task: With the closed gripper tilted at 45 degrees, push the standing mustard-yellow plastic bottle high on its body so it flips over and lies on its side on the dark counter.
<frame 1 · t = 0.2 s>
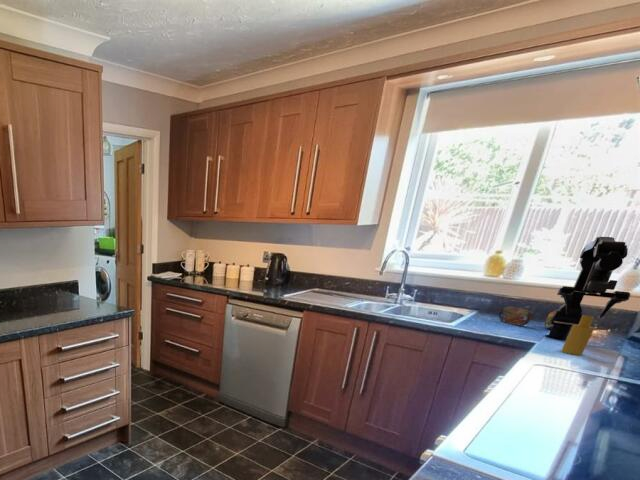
hand: (583, 316, 163), 15 cm above the countertop, tool pointing down, fingers open, 9 cm apart
tin: (512, 324, 220), on the countertop
burger: (560, 330, 210), on the countertop
bottle: (571, 352, 171), on the countertop
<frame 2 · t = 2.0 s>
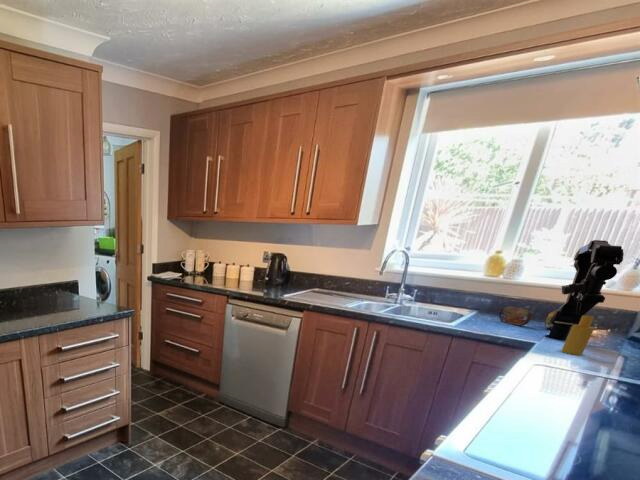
hand: (578, 316, 175), 13 cm above the countertop, tool pointing down, fingers open, 3 cm apart
nothing on the countertop moved.
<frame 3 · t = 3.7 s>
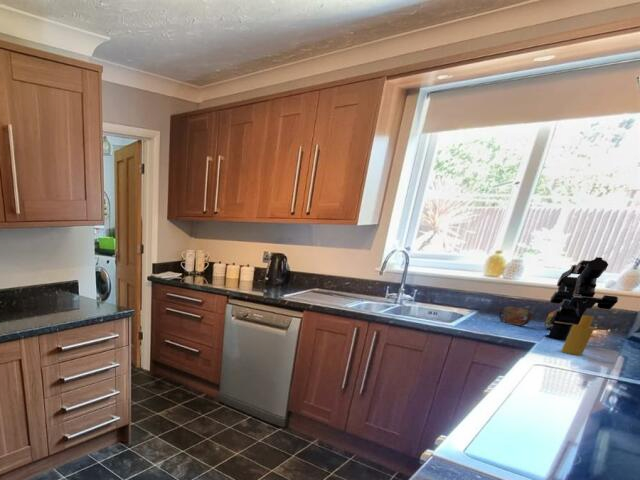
hand: (579, 316, 174), 13 cm above the countertop, tool tilted 45°, fingers closed
nothing on the countertop moved.
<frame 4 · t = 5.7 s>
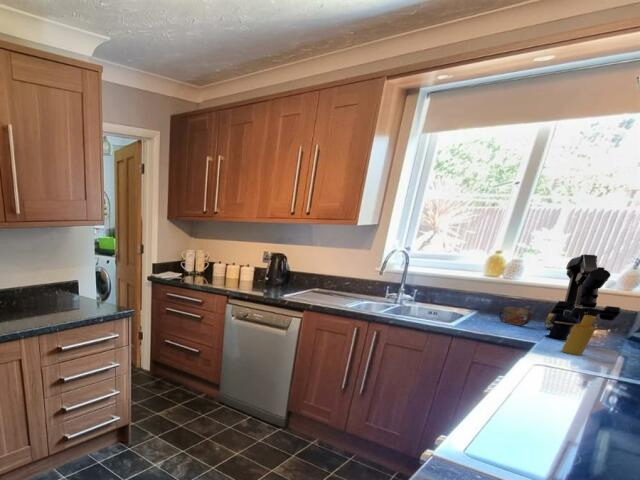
hand: (581, 327, 169), 10 cm above the countertop, tool tilted 45°, fingers closed
bottle: (571, 351, 171), on the countertop, tilted 7°
everything else where it was.
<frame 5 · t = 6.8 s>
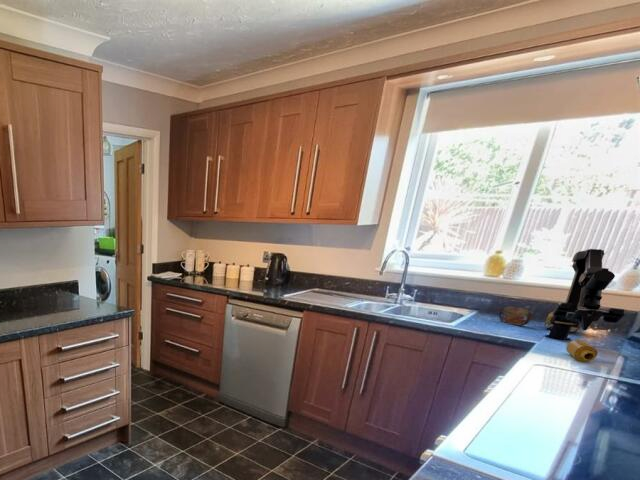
hand: (584, 329, 164), 10 cm above the countertop, tool tilted 45°, fingers closed
bottle: (576, 347, 167), point 3 cm above the countertop, tilted 90°
everything else where it was.
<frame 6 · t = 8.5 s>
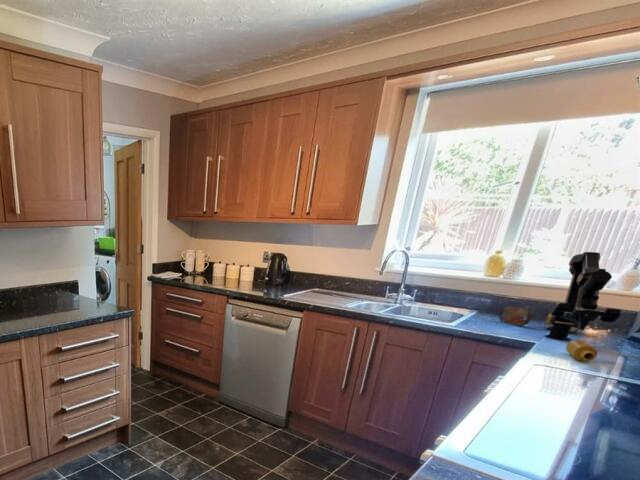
hand: (582, 329, 167), 10 cm above the countertop, tool tilted 45°, fingers closed
nothing on the countertop moved.
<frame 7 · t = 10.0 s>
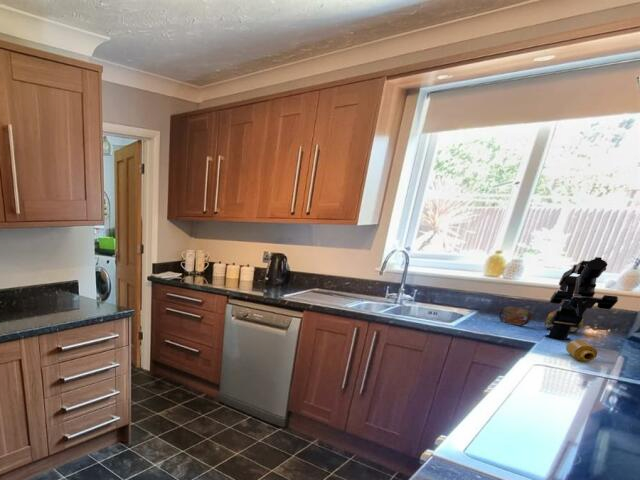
hand: (579, 315, 173), 14 cm above the countertop, tool tilted 45°, fingers closed
nothing on the countertop moved.
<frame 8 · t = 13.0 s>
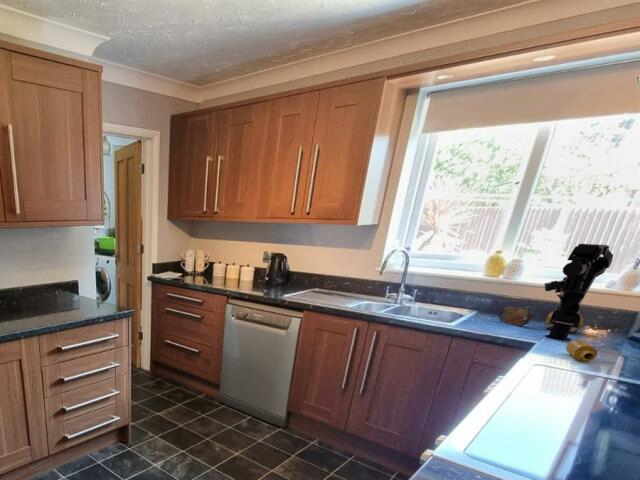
hand: (560, 312, 182), 13 cm above the countertop, tool pointing down, fingers closed
nothing on the countertop moved.
at the end: bottle tilted 90°; bottle inside the target area (3.1 cm from its centre), point 3.0 cm above the countertop; the gripper is holding nothing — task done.
